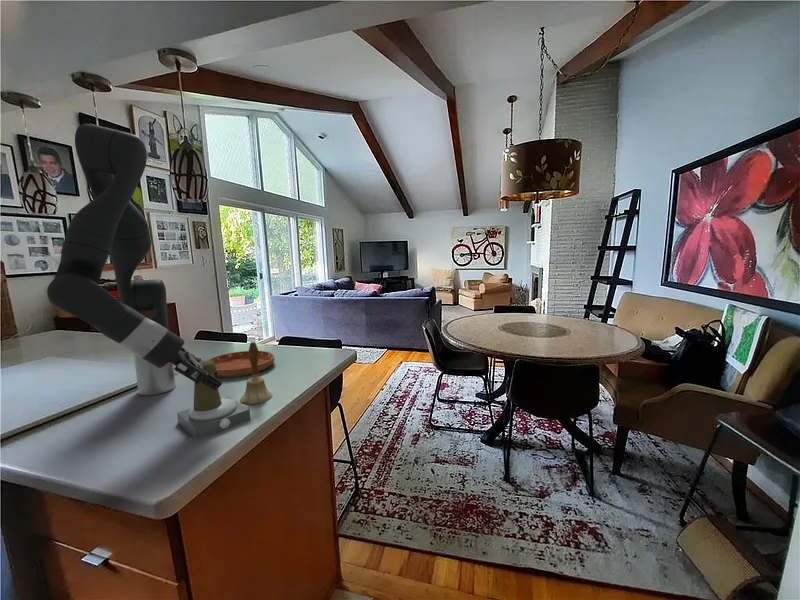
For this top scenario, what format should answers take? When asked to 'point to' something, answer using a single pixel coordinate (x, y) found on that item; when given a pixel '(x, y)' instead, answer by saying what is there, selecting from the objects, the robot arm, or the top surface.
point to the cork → (206, 391)
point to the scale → (213, 418)
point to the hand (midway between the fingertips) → (217, 381)
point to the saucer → (240, 363)
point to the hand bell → (255, 381)
